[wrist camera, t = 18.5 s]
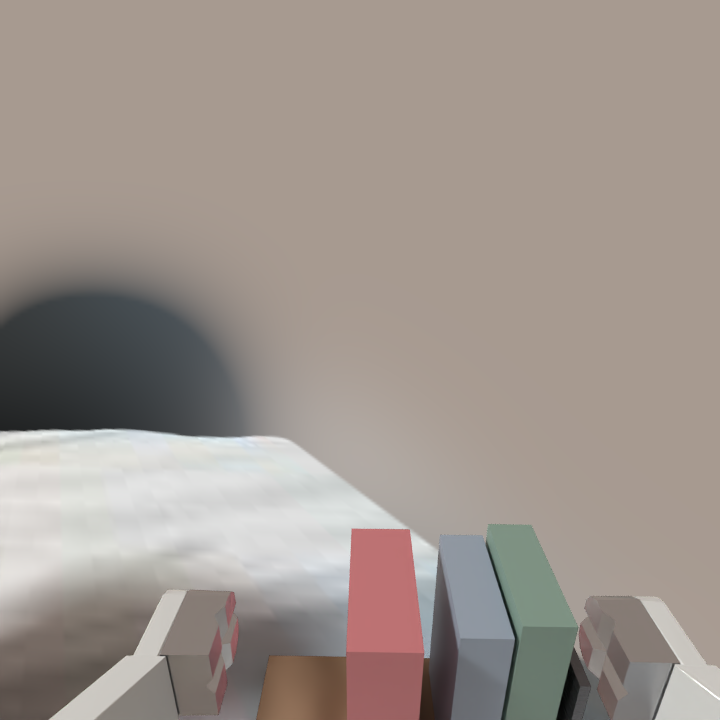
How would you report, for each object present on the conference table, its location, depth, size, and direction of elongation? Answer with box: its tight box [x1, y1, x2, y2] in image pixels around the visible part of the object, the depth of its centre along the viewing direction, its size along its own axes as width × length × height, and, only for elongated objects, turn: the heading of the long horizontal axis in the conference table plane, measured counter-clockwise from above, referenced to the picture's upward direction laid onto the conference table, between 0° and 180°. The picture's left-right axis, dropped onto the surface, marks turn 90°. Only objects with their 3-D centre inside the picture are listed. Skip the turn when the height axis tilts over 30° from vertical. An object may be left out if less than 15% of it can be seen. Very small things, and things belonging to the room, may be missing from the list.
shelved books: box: [429, 524, 578, 720], centre depth 32 cm, size 6×8×15 cm
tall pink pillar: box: [346, 529, 424, 720], centre depth 31 cm, size 4×9×15 cm, turn 179°
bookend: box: [556, 647, 591, 720], centre depth 33 cm, size 1×9×11 cm, turn 0°
